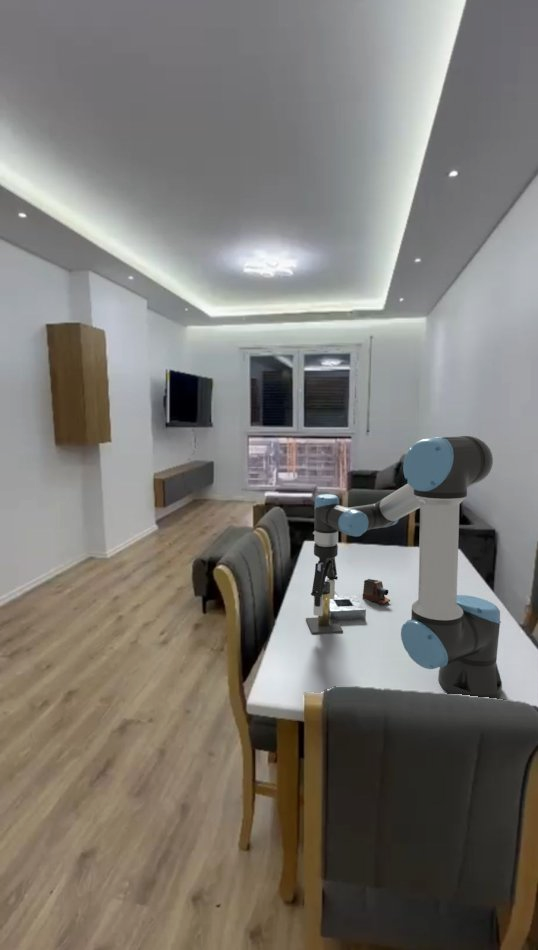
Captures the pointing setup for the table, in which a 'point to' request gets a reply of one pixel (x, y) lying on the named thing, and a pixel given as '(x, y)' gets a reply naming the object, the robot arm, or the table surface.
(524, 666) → the table surface
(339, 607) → the block
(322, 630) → the pad
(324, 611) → the gold and black cylinder
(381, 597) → the electronic device
